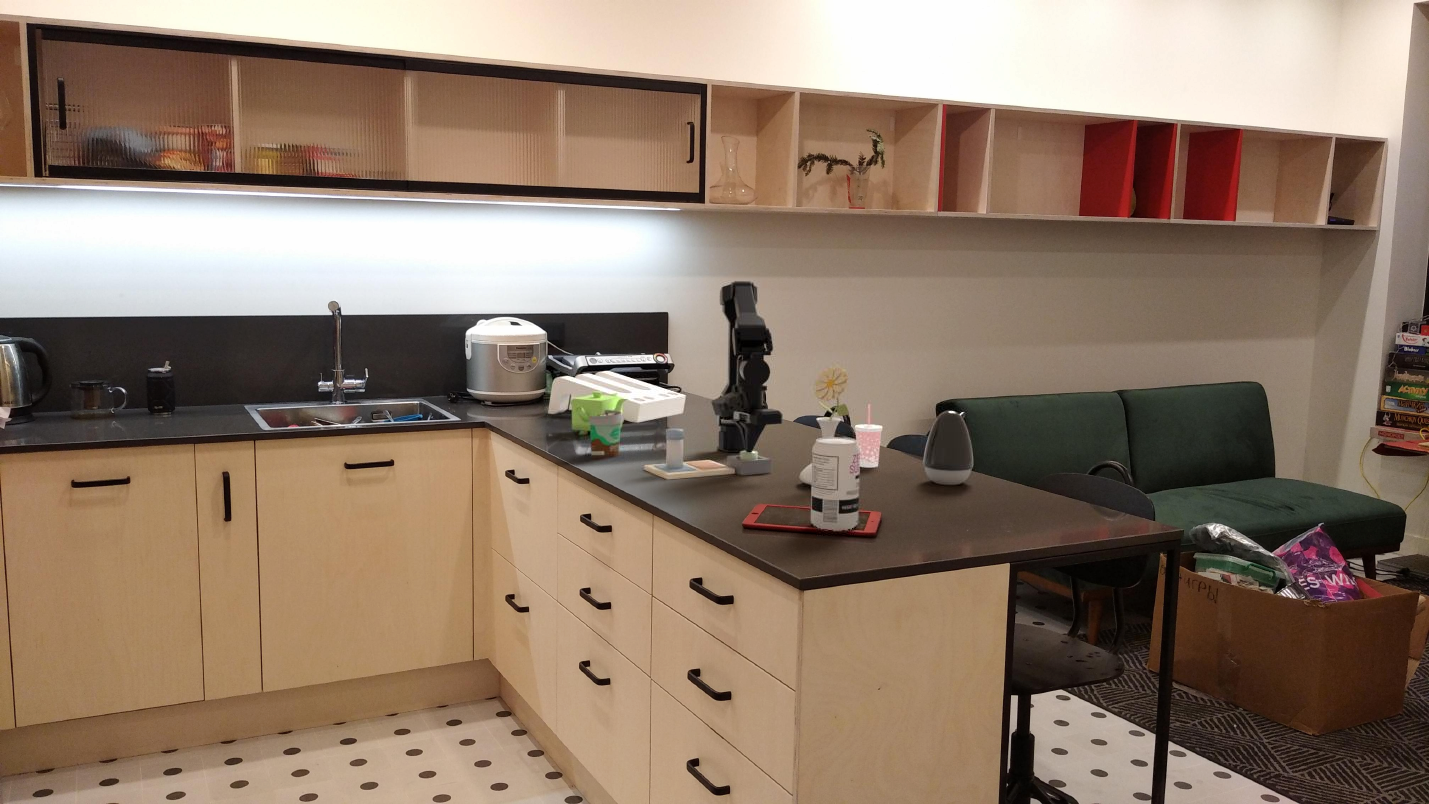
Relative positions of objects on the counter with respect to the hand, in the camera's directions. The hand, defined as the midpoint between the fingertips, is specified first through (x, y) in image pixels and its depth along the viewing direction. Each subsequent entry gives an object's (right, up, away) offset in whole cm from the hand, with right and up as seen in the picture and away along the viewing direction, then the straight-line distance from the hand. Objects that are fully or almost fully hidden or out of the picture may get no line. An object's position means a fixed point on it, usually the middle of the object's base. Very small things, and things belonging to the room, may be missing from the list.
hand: (748, 451), depth 236 cm
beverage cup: (+27, -4, +9) cm, 29 cm away
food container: (-32, -2, +19) cm, 37 cm away
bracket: (-37, +7, +90) cm, 98 cm away
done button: (0, -3, 0) cm, 4 cm away
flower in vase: (+16, -7, -15) cm, 23 cm away
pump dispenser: (+41, -6, -9) cm, 43 cm away
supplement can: (+13, -11, -49) cm, 51 cm away
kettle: (-38, +2, +51) cm, 64 cm away
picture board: (-13, -4, -1) cm, 14 cm away
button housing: (0, -4, 0) cm, 4 cm away
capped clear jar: (-16, -3, -2) cm, 17 cm away
